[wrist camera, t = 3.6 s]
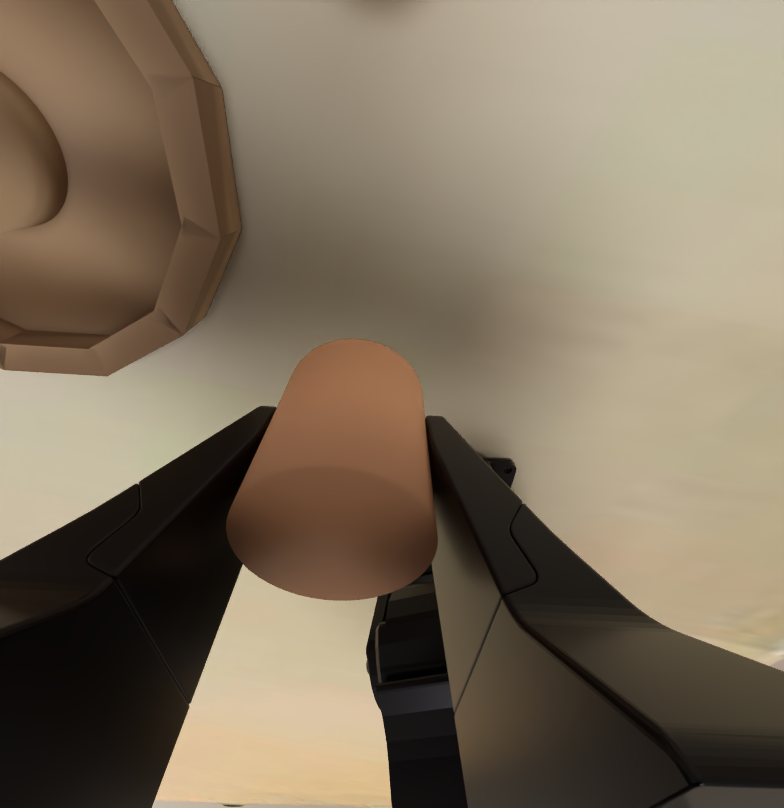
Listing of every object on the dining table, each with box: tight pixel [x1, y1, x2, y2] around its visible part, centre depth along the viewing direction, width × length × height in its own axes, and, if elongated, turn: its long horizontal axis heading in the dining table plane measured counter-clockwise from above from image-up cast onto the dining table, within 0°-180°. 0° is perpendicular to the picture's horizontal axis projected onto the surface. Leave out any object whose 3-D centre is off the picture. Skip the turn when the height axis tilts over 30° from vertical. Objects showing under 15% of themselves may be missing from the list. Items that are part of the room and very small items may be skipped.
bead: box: [226, 339, 438, 600], centre depth 8 cm, size 4×4×4 cm
